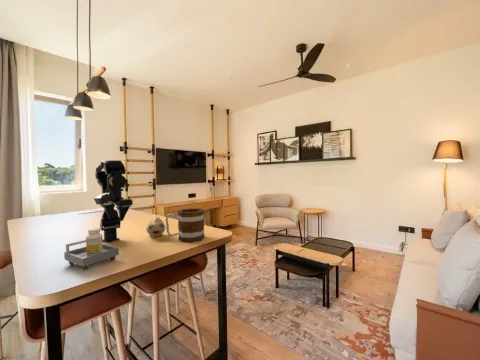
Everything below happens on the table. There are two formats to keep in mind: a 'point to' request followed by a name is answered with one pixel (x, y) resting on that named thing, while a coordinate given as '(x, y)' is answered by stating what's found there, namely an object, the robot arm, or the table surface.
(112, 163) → the robot arm
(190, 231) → the mug
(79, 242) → the grey toy cart
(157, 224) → the yellow toy creature
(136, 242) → the table surface
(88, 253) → the supplement bottle
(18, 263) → the table surface
